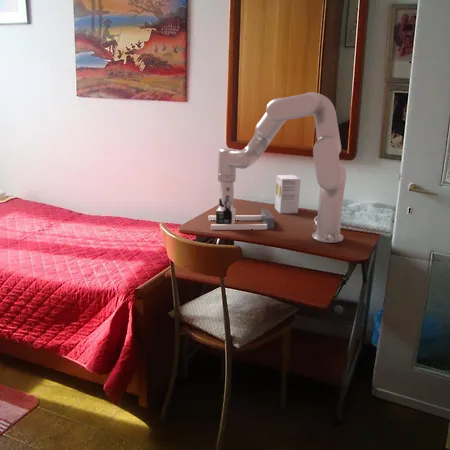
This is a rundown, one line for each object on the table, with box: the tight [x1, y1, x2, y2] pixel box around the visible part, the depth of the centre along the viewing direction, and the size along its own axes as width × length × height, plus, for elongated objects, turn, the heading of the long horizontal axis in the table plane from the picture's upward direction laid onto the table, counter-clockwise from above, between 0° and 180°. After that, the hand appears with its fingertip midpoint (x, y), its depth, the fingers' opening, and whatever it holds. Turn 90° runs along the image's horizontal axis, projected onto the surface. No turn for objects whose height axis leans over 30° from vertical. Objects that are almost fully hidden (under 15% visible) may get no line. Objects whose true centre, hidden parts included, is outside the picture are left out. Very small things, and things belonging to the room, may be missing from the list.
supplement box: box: [274, 174, 301, 214], centre depth 257 cm, size 10×9×17 cm
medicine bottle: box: [215, 198, 237, 224], centre depth 233 cm, size 7×7×12 cm
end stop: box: [260, 208, 275, 230], centre depth 236 cm, size 15×3×5 cm, turn 6°
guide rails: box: [207, 214, 268, 231], centre depth 235 cm, size 15×24×2 cm, turn 96°
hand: (225, 216), depth 234 cm, fingers closed on medicine bottle, 9 cm apart
